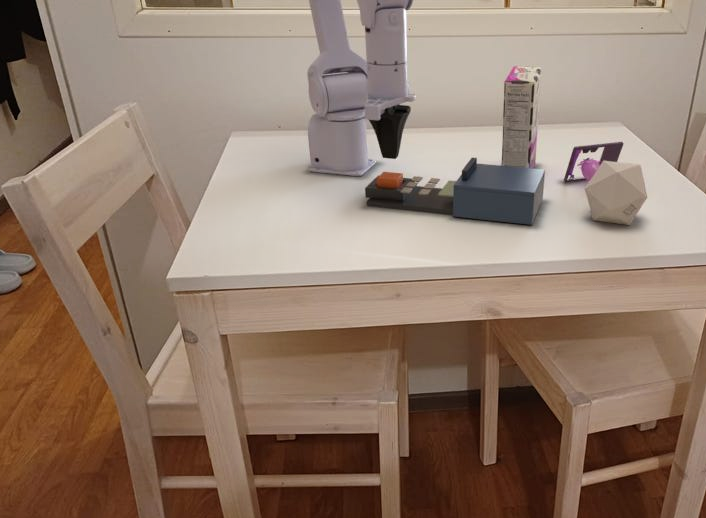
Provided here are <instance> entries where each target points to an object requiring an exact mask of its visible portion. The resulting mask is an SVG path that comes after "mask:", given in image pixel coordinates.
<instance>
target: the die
mask: <svg viewBox="0 0 706 518" xmlns="http://www.w3.org/2000/svg"><path fill="white" fill-rule="evenodd" d="M642 169H643V168H642V165H641V164H638V163H629V162H620V161H617V162H612V161H603V162H602V163H601V165H600V166H599V168H598V169H597V171H596V172H595V174H594V175H593V177H592V178H591V180H590V181H588V183H587V185H586V186H585V187H584V191H585V195H586V199H587V202H588V206H589V211H590V214H591V217H592V221H596V222H603V223H609V224H610V223H611V224H618V225H627V226H630V225H631V224H632V222H633V220H634V219H635V217H636V215H637V214H638V213H639V211H640V209H641V208H642V206H643V205H644V204H645V202H646V200H647V199H648V193H647V188H646V184H645V179H644V174H643V170H642Z"/></svg>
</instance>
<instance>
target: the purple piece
mask: <svg viewBox="0 0 706 518" xmlns="http://www.w3.org/2000/svg"><path fill="white" fill-rule="evenodd" d="M624 144H625V143H624V142H623V141H615V142H606V143H597V144H596V143H595V144H588V145H578V146H574V147H573V149H572V151H571V155H570V157H569V161H568V165H567V168H566V170H565V171H566V172H565V174H564V178H563V182H564V183H568V182H579V181H588V182H589V181H590V180H591V178H592V177H593V175H594V174H595V172H596V171H597V169H598V168H599V166H600V165H601V163H602V162H603V161H612V162H619V161H618V160H619V158H620V155H621V152H622V150H623V146H624ZM599 148H603V150H602V153H601V155H600V159H599V160H597V159H596V158H592V157H587V158H583V160H582V161H580V162H579V163H578V164H577V167H579V166H581V167H579V169H580V170H581V174H582V177H576V178H575V174H573V173H574V168H575V166H576V163H577V160H578V158H579V156H580V154H581V153H582V154H589V152H590V153H596V152H597V150H599Z"/></svg>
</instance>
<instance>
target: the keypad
mask: <svg viewBox="0 0 706 518" xmlns="http://www.w3.org/2000/svg"><path fill="white" fill-rule="evenodd" d="M423 179H424V177H423V176H413V177H411V181H412V182H409V183H408V184H407V185H406V187H404V188H403V189H402V190H401V193H410V192H411V191H412V190H413V188H415V187H416V186H418V184H419V183H420V182H421V181H422V180H423ZM440 181H441V178H435V177H431V178H430V179H429V180H428V181H427V183H426V184H425V185H424V186H422V187H423V189H422V190H421V191H420V192H419V194H420V195H428V194H429V193H430V192H431V190H427V189H433V188H436V186H437V184H438V183H439V182H440ZM456 181H457V180H448V181H447V182H446V183H445V184H444V186H443V187H442V190H441V191H440V192H439V194H438V196H448V197H453V189H454V188H453V187H454V184H455V182H456ZM407 187H412V188H407Z"/></svg>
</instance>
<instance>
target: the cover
mask: <svg viewBox="0 0 706 518" xmlns="http://www.w3.org/2000/svg"><path fill="white" fill-rule="evenodd" d="M545 177H546V169H545V168H543V169H542V168H534V169H533V168H522V167H511V166H502V165H499V164H498V165H497V164H487V163H478V159H477V157H471V158H470V159H469V161H467V163H466V164H465V166H463V168H462V170H461V174H460V176H458V178H457V180H455V181H456V182H455V184H454V187H453V188H454V189H453V215H452V217H455V218H464V219H473V220H474V219H475V220H483V221H484V220H485V221H492V222H503V223H512V224H522V225H531V226H532V225H533V223H534V221H535V218H536V217H537V214H538V213H539V212H538V211H539V210H540V207H541V205H542V202H543V199H544V188H545Z"/></svg>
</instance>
